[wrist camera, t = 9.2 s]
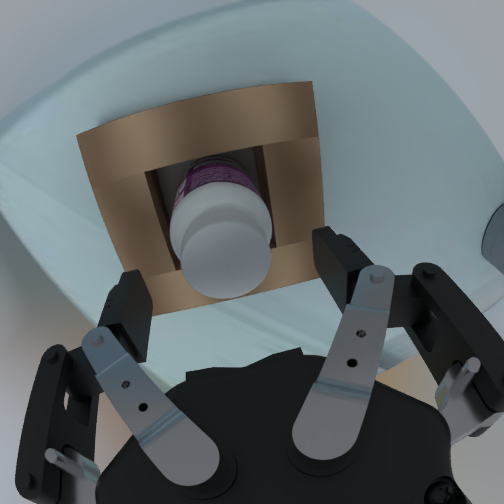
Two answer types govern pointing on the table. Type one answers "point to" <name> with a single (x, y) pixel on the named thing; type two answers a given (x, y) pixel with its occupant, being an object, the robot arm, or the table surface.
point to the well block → (198, 147)
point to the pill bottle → (220, 229)
